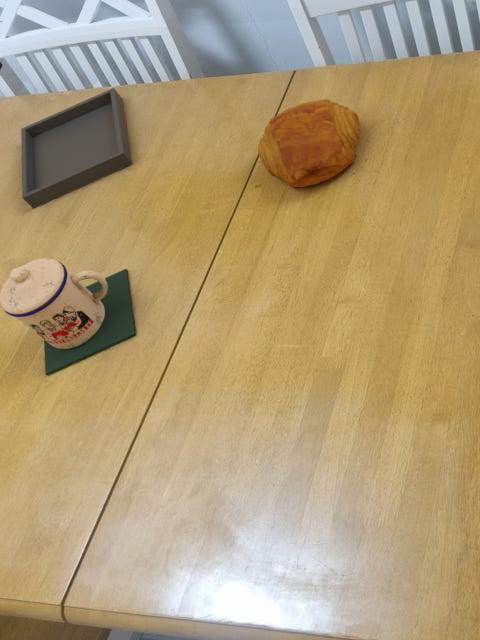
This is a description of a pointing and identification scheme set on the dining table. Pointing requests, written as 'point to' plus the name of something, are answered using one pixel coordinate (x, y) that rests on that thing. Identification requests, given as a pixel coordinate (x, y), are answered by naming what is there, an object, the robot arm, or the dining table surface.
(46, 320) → the teacup with lid
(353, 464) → the dining table surface
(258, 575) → the dining table surface
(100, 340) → the mat
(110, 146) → the tray
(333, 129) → the croissant
